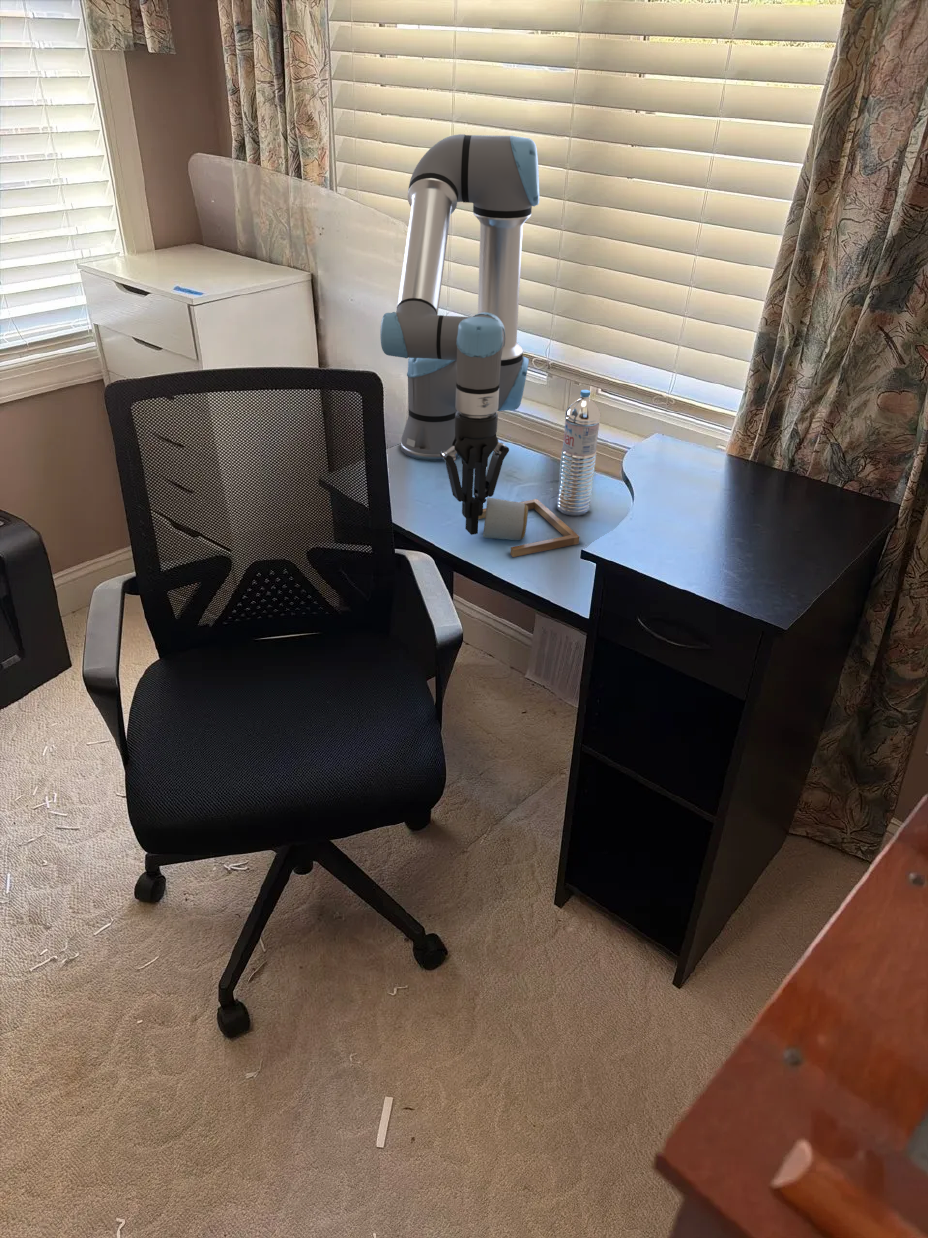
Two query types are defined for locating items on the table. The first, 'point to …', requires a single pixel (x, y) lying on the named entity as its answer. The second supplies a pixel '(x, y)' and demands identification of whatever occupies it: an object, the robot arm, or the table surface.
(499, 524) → the ceramic mug
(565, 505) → the water bottle
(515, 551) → the oak frame
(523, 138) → the robot arm
